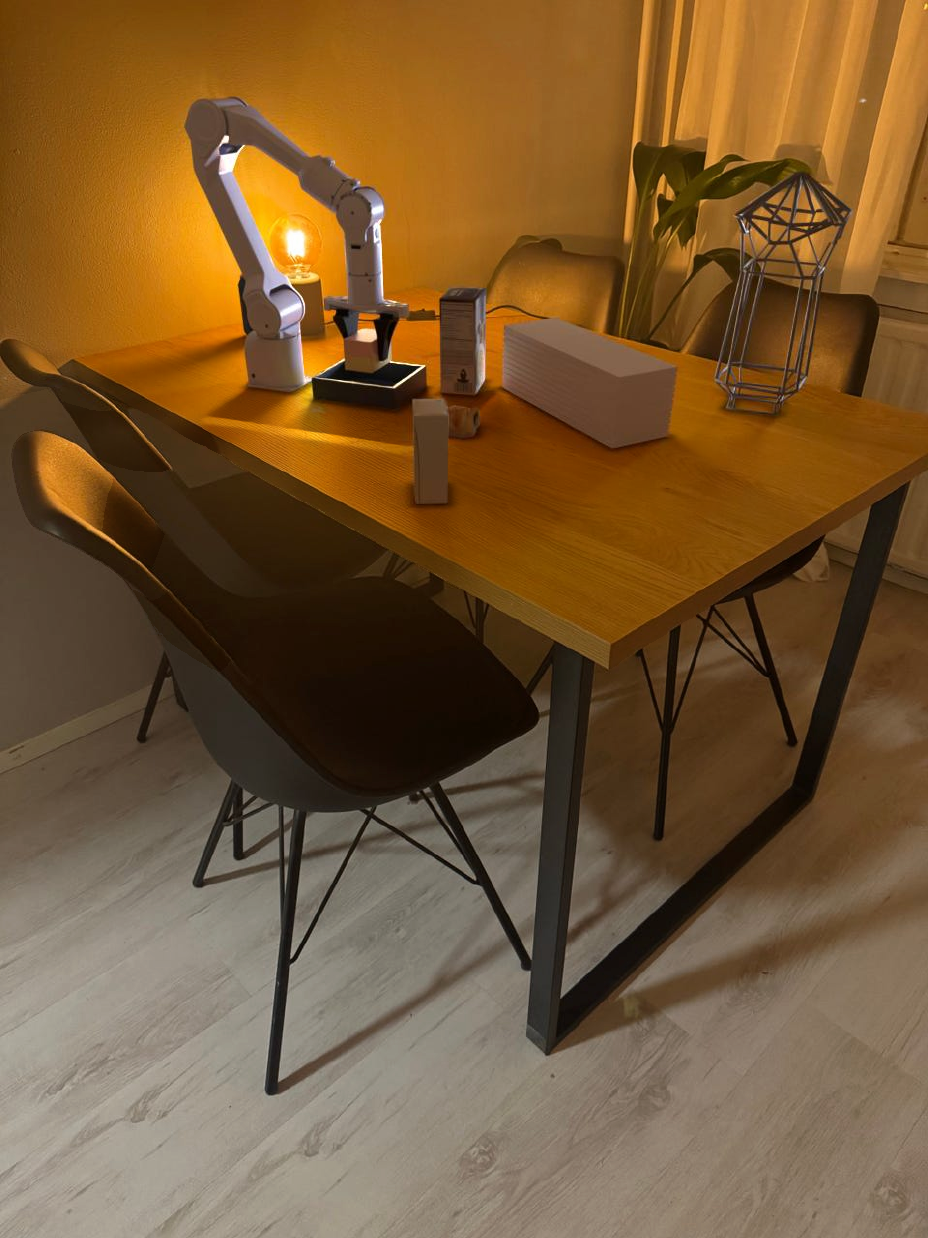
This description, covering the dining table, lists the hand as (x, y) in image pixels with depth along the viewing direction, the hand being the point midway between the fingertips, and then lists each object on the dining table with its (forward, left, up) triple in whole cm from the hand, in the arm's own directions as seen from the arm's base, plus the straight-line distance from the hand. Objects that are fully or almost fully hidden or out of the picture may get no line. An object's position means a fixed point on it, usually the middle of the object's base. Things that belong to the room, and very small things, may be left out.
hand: (368, 357), depth 147 cm
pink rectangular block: (0, 0, -1) cm, 1 cm away
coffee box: (+14, +9, -6) cm, 18 cm away
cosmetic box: (+26, -34, -6) cm, 43 cm away
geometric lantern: (+63, +18, -6) cm, 65 cm away
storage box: (0, 0, -6) cm, 6 cm away
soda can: (-37, +25, -6) cm, 46 cm away
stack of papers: (+36, +5, -6) cm, 37 cm away
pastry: (+20, -11, -6) cm, 23 cm away
